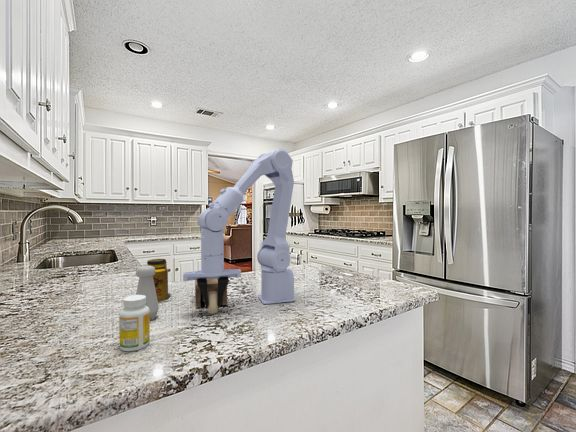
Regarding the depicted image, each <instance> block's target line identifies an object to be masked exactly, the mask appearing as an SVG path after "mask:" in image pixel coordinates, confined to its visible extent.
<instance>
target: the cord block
mask: <svg viewBox="0 0 576 432" xmlns="http://www.w3.org/2000/svg"><path fill="white" fill-rule="evenodd" d="M201 298H202V301H203V302H204V299H203V296H202V297H201ZM207 299H208V308H207V313H208V314H209V313H211V315H214V314H217V313H218V312H219V307H218V287H212V288H207Z"/></svg>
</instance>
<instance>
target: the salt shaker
mask: <svg viewBox="0 0 576 432" xmlns="http://www.w3.org/2000/svg"><path fill="white" fill-rule="evenodd" d="M153 275H155V268H154V267H153V266H147V265H142V266H138V267H137V268H136V269H135V276H136V277H137V278H138V282H137V288H136V292H135V295H145V296H146V304H145V305H146V306H148V307H149V310H150V321H153V320H154V319H156V317H157V314H158V312H159V309H160V306H159V302H158V300H157V295H156V290H155V285H154V280H153Z"/></svg>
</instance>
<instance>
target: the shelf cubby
mask: <svg viewBox="0 0 576 432" xmlns="http://www.w3.org/2000/svg"><path fill="white" fill-rule="evenodd" d="M194 284H195V285H194V288H195V289H194V291H195V293H194V295H195V296H194V297H195V309H198V308H197V307H200V308H201V297H200V296H202V293H201V291H200V289H199V287H198V285H197V280H194ZM212 287H218V278H217V279H207V288H212ZM223 305H226V306H228V286H227V287H226V289H225V292H224V294H223V297H222V302H221V306H223Z"/></svg>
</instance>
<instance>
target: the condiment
mask: <svg viewBox="0 0 576 432" xmlns="http://www.w3.org/2000/svg"><path fill="white" fill-rule="evenodd" d="M146 266H153V267H154V268H155V275H153V280H154V285H155V290H156V295H157V300H158V303H164V302H169V301H172V294H171V292H169V280H168V279H169V271H168V267H167V259H166V258H155V259H154V258H152V259H149V260H147V262H146ZM170 297H171V298H170ZM169 298H170V299H171V300H170V299H169Z"/></svg>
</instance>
